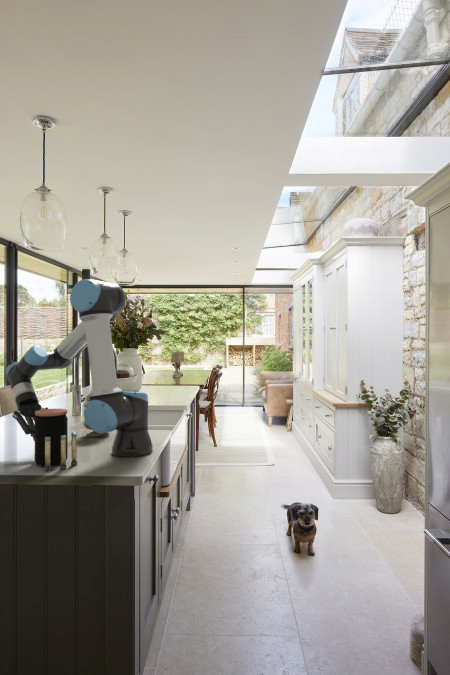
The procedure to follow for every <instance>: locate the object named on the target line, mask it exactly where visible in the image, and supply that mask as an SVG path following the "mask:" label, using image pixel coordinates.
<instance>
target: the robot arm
mask: <svg viewBox="0 0 450 675" xmlns="http://www.w3.org/2000/svg"><path fill="white" fill-rule="evenodd" d="M69 302H70V305H71V307H72V308H73V309H74V310H75V311H76V312H78V317H79V320H80V323H79V324H78V325H77V326H76V327H75V328H74V329H72V331H71V332H70V333H69V334H68V335H66V337H65V338H64V339H63V340H62V341H61V342H60V343H59V344H58V345H57V347H55V348H54V349H53V350H46V349H45V348H44V347H42V346H39V345H32V346H31V347H29V349H28V350H27V351H26V352H25V353H24V354H23V356H22V358H20V360H19V361H14V362H12V363H11V364H9V365H7V367H6V371H5V372H6V378H7V380H8V382H9V386H10V388H11V389H10V390H11V391H12V395H13V397H14V398H13V399H14V401H15V404H16V407H17V409H16V410H14V411H13V412H12V413H13V414H12V416H11V417H12V418H14V420H16V421H17V423H18V424H19V426H20V427H21V429H22V430H23V432H24V434H25V435H27V436H28V435H30V437H32V439H33V442H34V443H35V418H36V415H35V412H36V411H38V410H44V409H49V408H48V407H42V404H40V403H39V400H38V399H39V398H38V396H37V394H36V391H35V388H34V385H33V382H32V378H33V377H34V376H35V375H36V374H37V372H38V371H47V370H60V369H61V370H63V369H67V368H69V367H71V365H72V364H73V362H74V357H75V356H76V355H77V354H78V353H79V352H80V351H81V350H82V349H83V348H84V347H87V352H88V353H87V354H88V355H87V356H88V362H89V368H90V369H89V370H90V378H91V388H92V391H91V392H90V393H89V400H90V402H89V403H88V404H87V405H86V408H85V407H84V409H83V418H84V420H85V421H86V423H87V425H88V426H89V427H90V428H91V429H92V430H91V431H92V432H93V431H95V432H97V433H105V432H108V433H112V432H114V431H116V434H115V437H114V440H113V444H112V446H111V453H112V455H114V456H117V457H125V458H127V457H129V458H131V457H133V458H134V457H140V456H145V455H148V454H151V453H153V450H154V448H153V446H154V445H153V443H152V440H151V436H150V433H149V426H148V425H149V398H148V394H147V393H146V392H143V391H128V390H127V391H125V390H124V389H121V388H120V387H119V386H118V380H117V379H118V378H117V377H118V376H117V371H116V362H115V356H114V355H115V354H114V347H113V340H112V338H113V337H112V331H111V330H112V329H111V323H112V322H114V321H115V320H116V319H117V318H118V317H119V316H120V315H121V314H122V312H123V311H124V309H125V307H126V303H127V297H126V293H125V291H124V290H123V288H122V287H121V286H120V285H119V284H116V283H115V282H107V281H101V280H97V279H94V278H92V279H91V278H90V279H89V278H84V279H80V280H79V281H77V282H76V283H75V284H74V287H72V288H71V292H70V295H69ZM110 322H111V323H110ZM86 345H87V346H86ZM123 390H124V391H123Z"/></svg>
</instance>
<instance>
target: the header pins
mask: <svg viewBox="0 0 450 675" xmlns="http://www.w3.org/2000/svg"><path fill="white" fill-rule="evenodd" d="M77 433H78V432H77V431H73V432H71V436H70V437H71V462H70V466H72V467H76V466H77V465H78V460H77V457H78V456H77V451H78V450H77V448H78V447H77V436H78V435H77ZM50 440H51V437H50V436H47V437H45V467H44V472H50V471H52V466H50ZM59 470H61V471H63V470H67V460H66V435H61V465H59Z"/></svg>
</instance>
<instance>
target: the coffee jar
mask: <svg viewBox="0 0 450 675" xmlns="http://www.w3.org/2000/svg"><path fill="white" fill-rule="evenodd" d="M67 413H68V409H66V408H48V409H44V410H38V411H36V412H35V415H36V418H35V422H34V425H35V442H34V463H35V464H36V465H37V466H38V467H44V468H45V437H47V436H50V437H51V440H50V467H56V466H61V435H66V461H67V460H68V458H69V457H68V455H69V454H68V452H69V450H68V448H69V447H68V444H69V441H68V437H69V436H68V432H69V431H68V428H69V427H68V420H69V419H68V416H67Z"/></svg>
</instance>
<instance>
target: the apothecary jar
mask: <svg viewBox="0 0 450 675" xmlns="http://www.w3.org/2000/svg"><path fill="white" fill-rule="evenodd" d="M89 395H90V394H89ZM89 395H87V398H86V400H85V401H84V402H83V407H84V409H85V408H86V405H87V404H88V403H89V402H90V400H89ZM83 426H84V427H85V428H86V429H87V430H90V432H89V433H87V434H85V436H86V438H91V439H92V438H93V439H97V438H104V437H107V436H110V432H105V433H97V432H95V431H93V430H92V429H91V428H90V427H89V426H88V425H87V423H86V421H85V419H84V420H83Z"/></svg>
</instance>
